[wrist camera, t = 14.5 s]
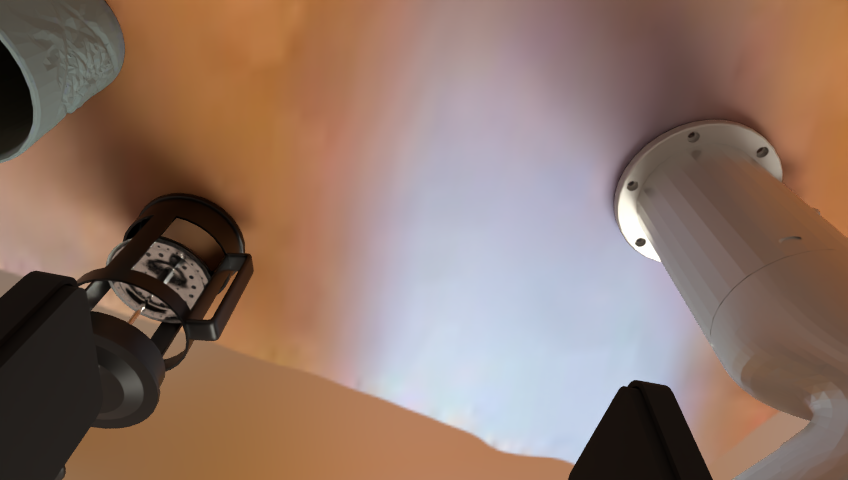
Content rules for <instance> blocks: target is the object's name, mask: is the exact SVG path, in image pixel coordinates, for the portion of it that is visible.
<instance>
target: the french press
mask: <svg viewBox="0 0 848 480" xmlns="http://www.w3.org/2000/svg"><path fill="white" fill-rule="evenodd" d="M176 218H179V219H183V220H186V221H189V222H191V223H193V224H195V225H197V226H199V227H200V228H202V229H203V230H205V231H206V232H207V233H208V234H210V235H211V236H212V237H213V238H214V239H215V240H216V242H217V243H218V244H219V245H220V246H221V248H222V250H223V252H224V254H225V256H224V257H223V259H222V261H221V262H220V264H219V265H218V267H217V269H216V270H214V271H210V270H209V268H208V267H207V265H206V264H205V263H204V262H203V260H202V259H201V258H200V257H199V256H198V255H197V254H195V253H194V252H193V251H192V250H190V249H189V248H187V247H186V246H184V245H182V244H180V243H178V242H176V241H174V240H172V239H169V238H166V237H162V236H161V235H162V234H163V233H164V232H165V230H166V229H167V228H168V227H169V226H170V225H171V223H172V222H173V221H174V220H175V219H176ZM236 271H238V273H237V275H236V277H235V279H234V280H233V282H232V284H231V286H230V287H229V289H228V291H227V293H226V294H225V296H224V298H223V300H222V302H221V303H220V305H219V307H218V309H217V310H216V312H215V314H214V316H213V317H212V318H211V319H210V320H202V319H203V318H204V316H205V314H206V313H207V311H208V309H209V308H210V306H211V304H212V302H213V301H214V299H215V297H216V295H217V294H219V293H220V292H221V291H222V290H223V289H224V288H225V287H226V285H227V283H228V281H229V280H230V278H231V276H232V275H234V274H235V272H236ZM253 271H254V269H253V263H252V257H251V255H250V254H247V253H245V242H244V239H243V235H242V233H241V231H240V229H239V227H238V225H237V224H236V222H235V221H234V220H233V218H232V217H231V216H230V215H229V214H228V213H227V212H226V211H225V210H224V209H222V208H221V207H219V206H218V205H216V204H215V203H213V202H211V201H209V200H207V199H205V198H202V197H199V196H195V195H191V194H184V193H175V194H168V195H164V196H160V197H158V198H156V199H154V200H152V201H151V202H150V203H149V204H148V205H146V206H145V208H144V209H143V210H142V212H141V213H140V215H139V218H138V219H137V220H136V221H135V222H134V223H133V224H132V225H131V226H130V227H129V229H128V230H127V231H126V233H125V236H124V239H123V242H122V243H120V244H119V245H117V246H116V247H115V248H114V249H113V250H112V251H111V253H110V254H109V256H108V259H107V262H106V267H105V268H101V269H96V270H93V271H91V272H89V273H86V274H84V275H83V276H82V277H81V278H80V279H78V280H77V284H78V286H80V285H82V284H85V283H89V282H91V283H90V284H89V285H88V287H87V288H86V289H85V291H86V293H87V298H88V304H89V310H90V316H91V322H92V329H93V335H94V341H95V347H96V353H97V360H98V366H99V372H100V378H101V384H102V390H103V403H102V407H101V410H100V412H99V414H98V416H97V418H96V419H95V421H94V422H93V424H92V425H91V427H97V428H105V429H106V428H124V427H129V426H132V425H135V424H138V423H140V422H142V421H144V420H145V419H147V418H148V417H149V416H150V415H151V414H152V413H153V412H154V410H155V408H156V406H157V404H158V402H159V396H160V389H159V388H160V386H161V384H162V382H163V380H164V378H165V372H166V371H168V370H171V369H172V368H174V367H176V366H177V365H178V364H179V363H180V362H181V361H182V360H183V359H184V358H185V356H186V354H187V353H188V351H189V349H190V347H191V345H192V344H193V341H194V340H205V341H216V340H218V339H219V337H220V335H221V334H222V332H223V330H224V328H225V326H226V324H227V322H228V320H229V318H230V316H231V314H232V312H233V311H234V309H235V307H236V305H237V303H238V301H239V299H240V297H241V295H242V293H243V291H244V290H245V288H246V286H247V284H248V282H249V280H250V278H251V276H252V274H253ZM110 288H112V289H113V291H114V292H115V294H116V295H117V296H118V297H119V298H120V299H121V300H122V301H123V302H124V303H125V304H126V305H127V306H129V307H130V308H131V309H132V310H134V311H135V313H134V314H133V315H132V316H131V318H130V319H129V321H128V322H126V321H124V320H120V319H119V318H116V317H114V316H111V315H108V314H104V313H100V312H94V311H91V310H92V309H93V308H94V307H95V305H96V304H97V303H98V302H99V301H100V300H101V299H102V297H103V296H104V295H105V294H106V293H107V292H108V291H109V289H110ZM140 314H141V315H143V316H146V317H148V318H150V319H153V320H157V321H161V322H162V323H161V324H160V326H159V327H158V329H157V330H156V332H155V333H154V335H153V336H152V338H151V339H149V338H148V337H147V336H146V335H145V334H144V333H143V332H141V331H140V330H139V329H137V328H136V327H134V326H132V324H133V323H134V321H135V320H136V319H137V317H138V316H139V315H140ZM182 326H183V328H184V331H185V335H186V349H185V350H184V351H183V352H181V353H180V354H178V355H177V356H174V357H171V358H169V359H163V355H164V354H165V352H166V351H167V349H168V347H169V346H170V344H171V343H172V341H173V340H174V338H175V336H176V334H177V333H178V332H179V330H180V328H181V327H182ZM65 470H66V468H65V465H64V466H63V468H62V469H61V471H60V472H59V474H58V475H57V477H56V478H55V480H62V479H63V478H64V476H65V473H66V471H65Z"/></svg>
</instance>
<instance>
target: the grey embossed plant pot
mask: <svg viewBox="0 0 848 480" xmlns="http://www.w3.org/2000/svg"><path fill="white" fill-rule="evenodd" d="M124 54H125V44H124V39H123V34H122V31H121V28H120V25H119V23H118V21H117V18H116V17H115V15H114V13H113V12H112V10H111V9H110V7H109V6H108V5H107V3H106V2H105V1H104V0H0V163H2V162H5V161H8V160H11V159H13V158H15V157H17V156H19V155H20V154H22V153H23V152H24V151H26V150H27V149H28V148H29V147H30V146H32V145H33V144H34V143H35V142H36V141H38V140H39V139H40V138H41V137H42V136H43V135H44V134H45V133H47V132H48V131H50V130H51V129H52V128H53V127H55V126H56V125H57V123H58V122H60V121H61V120H62V119H63V118H64V117H65V115H66V114H67V113H73V112H74V111H75V110H76V109H77V108H79V107H81V106H82V105H83V104H84V102H86V101H87V100H88V99H90V98H91V97H92V96H94V95H95V94H97V93H98V92H100V91H101V90H103V89H104V88H105V87H107V86H108V85H109V84H110V83H112V82H113V80H114V79H115V78H116V77H117V75H118V74H119V72H120V70H121V68H122V65H123V62H124Z"/></svg>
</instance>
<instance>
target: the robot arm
mask: <svg viewBox="0 0 848 480" xmlns="http://www.w3.org/2000/svg"><path fill="white" fill-rule="evenodd" d="M690 133H692V134H691V135H689V134H690ZM688 135H689V136H688ZM631 181H632V182H631ZM629 182H631V183H629ZM614 212H615V218H616V222H617V224H618V227H619V229H620V231H621V233H622V235H623V236H624V238H625V240H626V241H627V242H628V243H629V245H630V246H631V247H632V248H633V249H634V250H636V251H637V252H639V253H640V254H642V255H643V256H645V257H648V258H650V259H653V260H655V261H658V262H662V264H663V266H664V267H665V269H666V271H667V272H668V274H669V276H670V277H671V279H672V281H673V282H674V284H675V286H676V288H677V289H678V291H679V293H680V294H681V296H682V298H683V299H684V301H685V303H686V304H687V306H688V308H689V310H690V311H691V313H692V315H693V316H694V318H695V320H696V321H697V323H698V325H699V326H700V328H701V330H702V331H703V333H704V335H705V337H706V338H707V340H708V342H709V343H710V345H711V347H712V348H713V350H714V352H715V353H716V355H717V357H718V358H719V360H720V362H721V363H722V365H723V367H724V368H725V370H726V371H727V372H728V374H729V375H730V376H731V378H732V379H733V380H734V381H735V382H736V383H737V384H738V385H739V386H740V387H741V388H742V389H743V390H744V391H746V392H747V393H748V394H750V395H751V396H752V397H754V398H755V399H757V400H759V401H760V402H762V403H764V404H766V405H768V406H770V407H772V408H774V409H777V410H779V411H782V412H785V413H788V414H790V415H793V416H796V417H799V418H802V419H805V420H809V421H810V422H809V424H808V425H807V426H806V427H805V428H804V429H803V430H801V431H800V432H798V433H797V434H796V435H794V436H793V437H792V438H790V439H789V440H787V441H786V442H784V443H783V444H782V445H781V447H780V448H779V449H777V450H776V451H774V452H773V453H771V454H770V455H768V456H767V457H765V458H764V459H762V460H761V461H759V462H758V463H756V464H755V465H753V466H751V467H750V468H748V469H747V470H745V471H744V472H742V473H741V474H739V475H738V476H736V477H735V478H733V479H732V480H848V238H847V237H846V236H844V235H843V234H842V233H841V232H840V231H838V230H837V229H836V228H835V227H834V226H833V225H831V224H830V223H829V222H828V221H827V220H825V219H824V218H823V217H822V216H821V215H820V211H819V210H818V209H816V208H812V207H810V206H809V205H808V204H806V203H805V202H804V201H803V200H802V199H801V198H799V197H798V196H797V195H796V194H795V193H793V192H792V191H791V190H790V189H789V188H787V187H786V186H785V185H784V184H783V170H782V165H781V161H780V158H779V156H778V154H777V152H776V150H775V149H774V147H773V146H772V145H771V144H770V143H769V142H768V141H767V140H766V138H765V137H763V136H762V135H760V134H759V133H758V132H756V131H755V130H754V129H751V128H749V127H747V126H745V125H743V124H741V123H737V122H732V121H728V120H703V121H696V122H691V123H688V124H685V125H682V126H679V127H676V128H674V129H672V130H670V131H668V132H666V133H664V134H662V135H660V136H658V137H657V138H656V139H654V140H653V141H651V142H650V143H649V144H647V145H646V146H645V147H644V148H643V149H642V150H641V151H640V152H639V153H638V154H637V155H636V156H634V158H633V159H632V161H631V162H630V163H629V165H628V166H627V167H626V169H625V170H624V172H623V174H622V176H621V178H620V180H619V182H618V186H617V189H616V193H615V199H614ZM102 403H103V390H102V384H101V378H100V372H99V366H98V360H97V353H96V347H95V341H94V335H93V329H92V322H91V316H90V310H89V304H88V298H87V293H86V291H85V290H84V289H83V288H79V287H78V284H77V281H76V280H75V279H74V278H72V277H68V276H62V275H57V274H51V273H46V272H40V271H33V272H30V273H29V274H27V275H26V276H24V277H23V278H22V279H21V280H20V281H19V282H18V283H16V284H15V285H14V286H13V287H12V288H11V289H10V290H9V291H7V292H6V293H5V294H4V295H3V296H2V297H1V298H0V480H55V478H56V477H57V475H58V474H59V472H60V471H61V469H62V468H63V466H64V465H65V463H66V462H67V460H68V459H69V458H70V456H71V455H72V453H73V452H74V450H75V449H76V447H77V446H78V444H79V443H80V441H81V440H82V438H83V437H84V436H85V434H86V433H87V431H88V430H89V428H90V427H91V425H92V424H93V422H94V421H95V419H96V418H97V416H98V414H99V412H100V410H101V407H102ZM568 480H713V479H712V477H711V475H710V473H709V470H708V468H707V466H706V464H705V462H704V459H703V457H702V455H701V453H700V451H699V449H698V446H697V444H696V442H695V440H694V438H693V435H692V433H691V431H690V429H689V427H688V424H687V422H686V420H685V418H684V416H683V414H682V411H681V409H680V407H679V405H678V403H677V400H676V398H675V396H674V394H673V392H672V391H671V389H670V388H669V387H668V386H666V385H660V384H655V383H649V382H644V381H638V380H634V381H632V382H631V383H630V384H629V385H628V387H626V386H623V387H621V388H620V389H619V390H618V392H617V393H616V395H615V397H614V399H613V400H612V402H611V404H610V406H609V407H608V409H607V411H606V412H605V414H604V416H603V418H602V419H601V421H600V423H599V424H598V426H597V428H596V430H595V431H594V433H593V435H592V436H591V438H590V440H589V442H588V443H587V445H586V447H585V448H584V450H583V452H582V454H581V455H580V457H579V459H578V461H577V462H576V464H575V466H574V467H573V469H572V471H571V473H570V475H569V478H568Z"/></svg>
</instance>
